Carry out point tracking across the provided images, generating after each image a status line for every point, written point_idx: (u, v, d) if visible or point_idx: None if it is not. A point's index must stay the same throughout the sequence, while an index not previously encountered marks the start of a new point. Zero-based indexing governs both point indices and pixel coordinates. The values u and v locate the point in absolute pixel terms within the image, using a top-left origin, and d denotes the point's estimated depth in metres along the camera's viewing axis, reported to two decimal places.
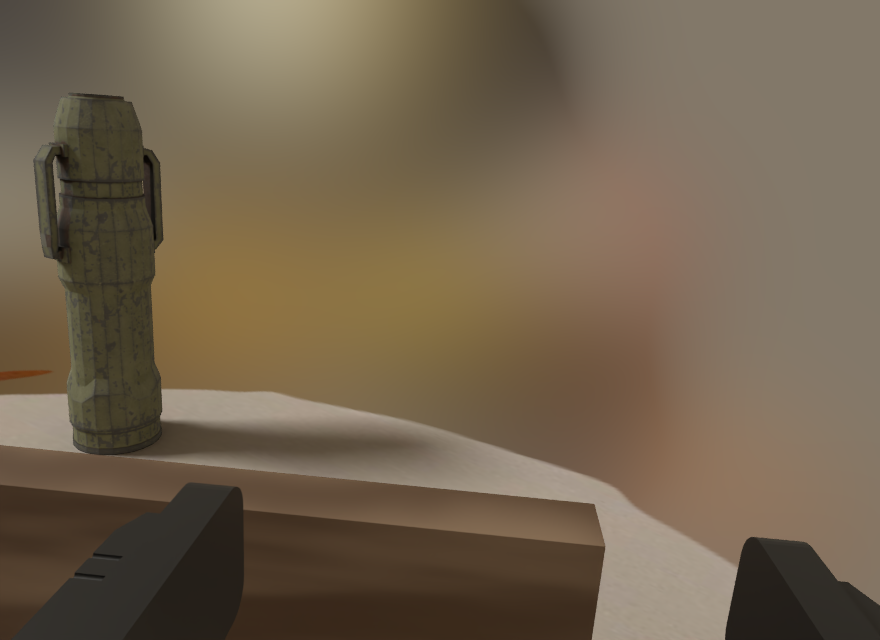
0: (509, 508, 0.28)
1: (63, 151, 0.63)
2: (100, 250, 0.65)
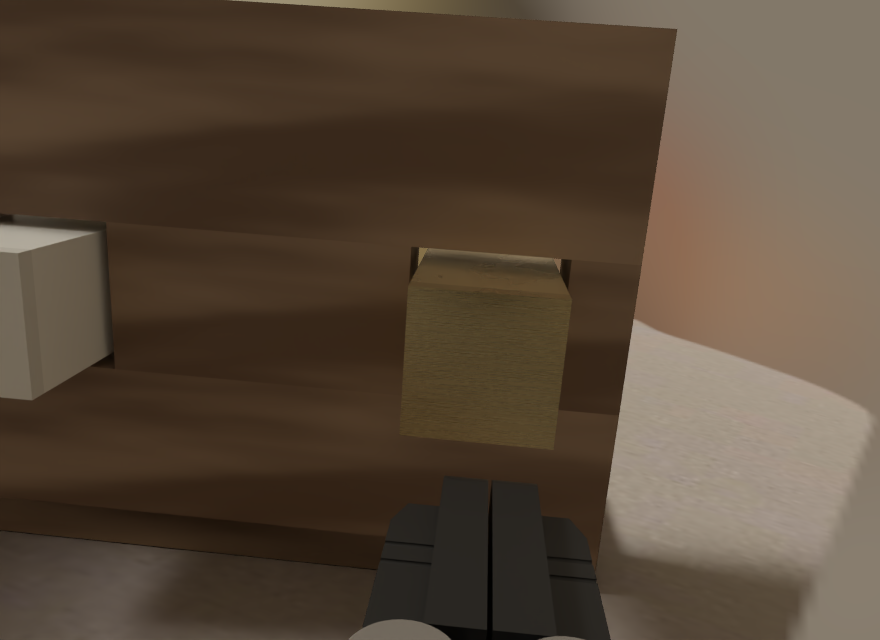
0: None
1: None
2: None
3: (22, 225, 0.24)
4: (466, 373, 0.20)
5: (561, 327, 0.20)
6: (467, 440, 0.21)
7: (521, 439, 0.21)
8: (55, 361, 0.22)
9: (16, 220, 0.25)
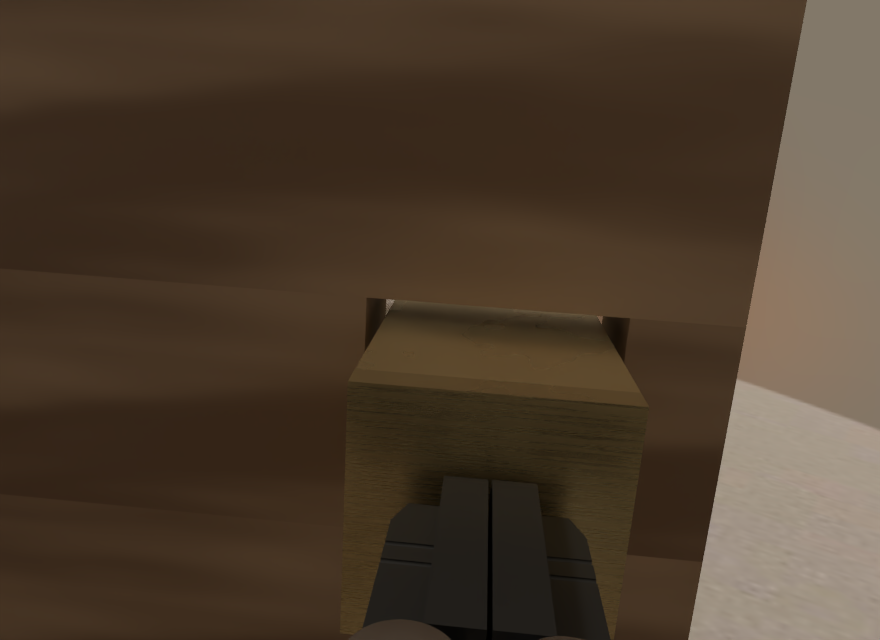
0: None
1: None
2: None
3: None
4: None
5: (628, 455, 0.11)
6: None
7: None
8: None
9: None
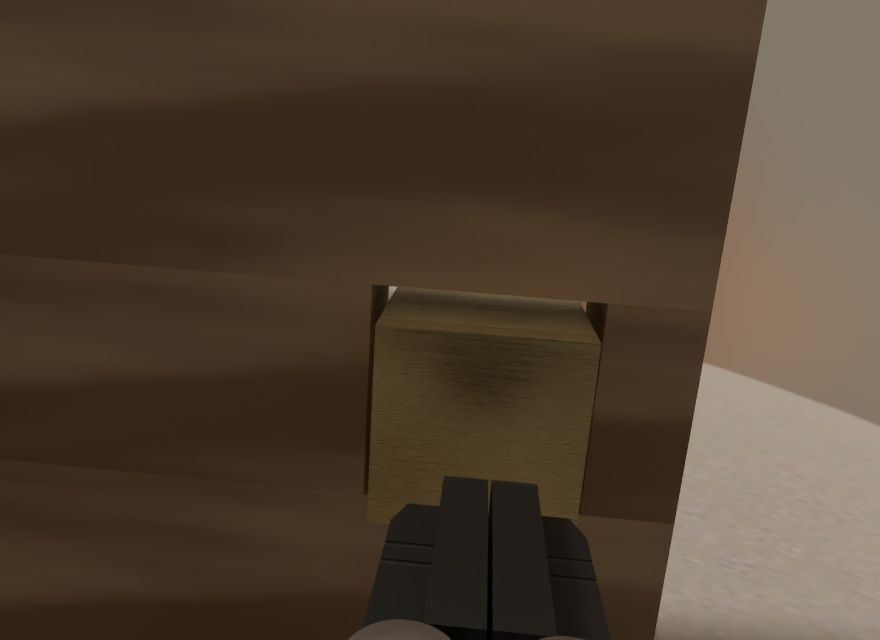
0: None
1: None
2: None
3: None
4: (456, 442, 0.15)
5: (586, 381, 0.14)
6: None
7: None
8: None
9: None
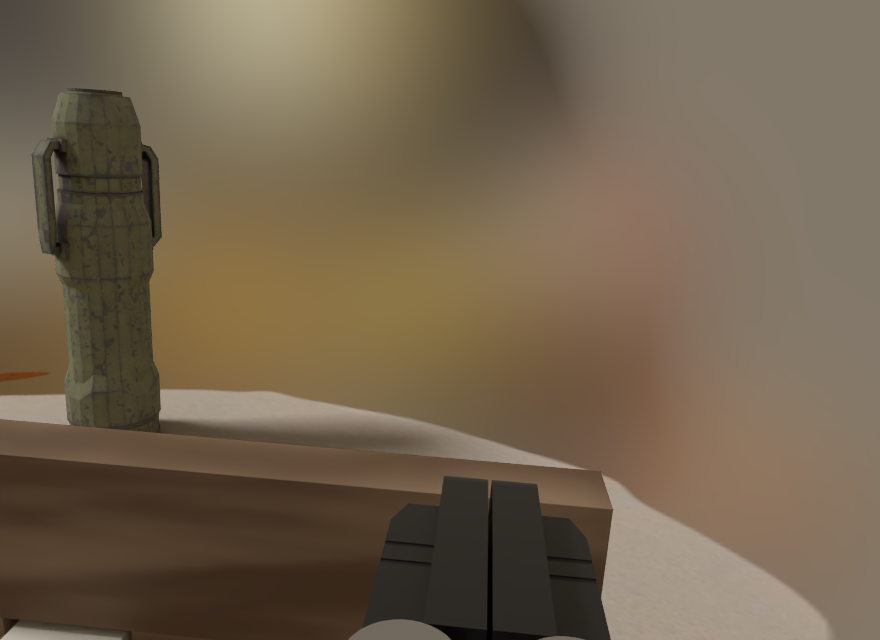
0: (515, 475, 0.27)
1: (61, 146, 0.63)
2: (99, 245, 0.65)
3: (59, 629, 0.28)
4: None
5: None
6: None
7: None
8: None
9: None
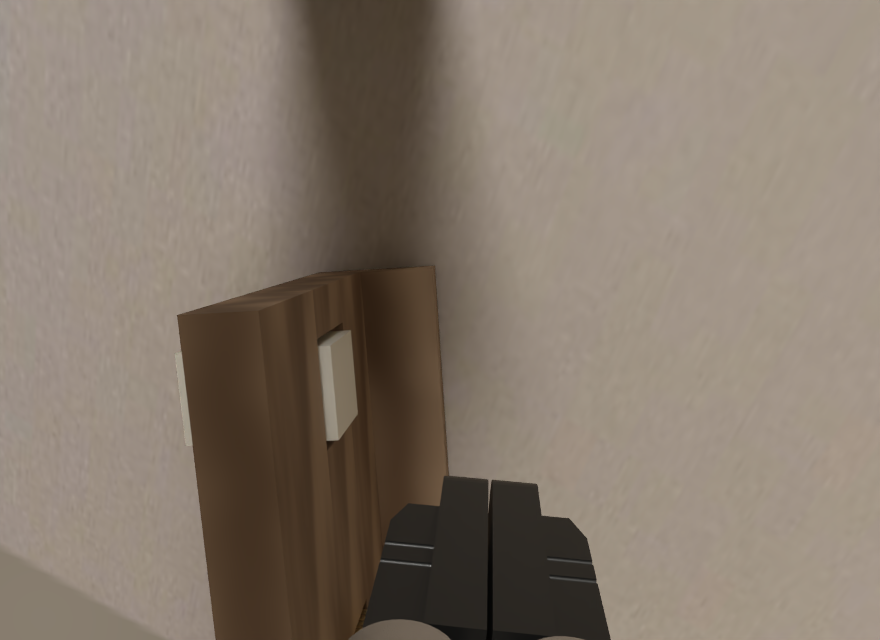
0: None
1: None
2: None
3: None
4: None
5: None
6: None
7: None
8: None
9: None
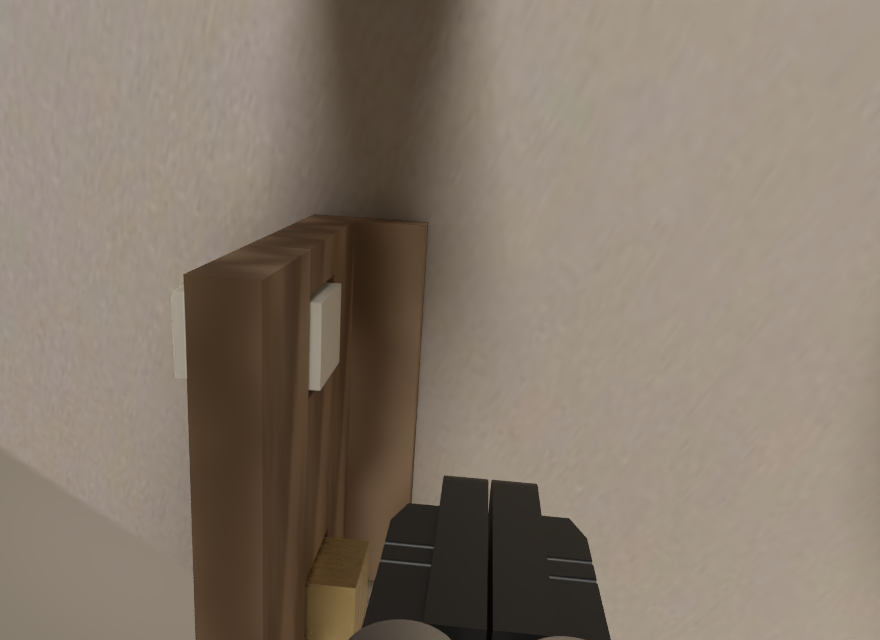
0: None
1: None
2: None
3: None
4: None
5: None
6: None
7: None
8: None
9: None
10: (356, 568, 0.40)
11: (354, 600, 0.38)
